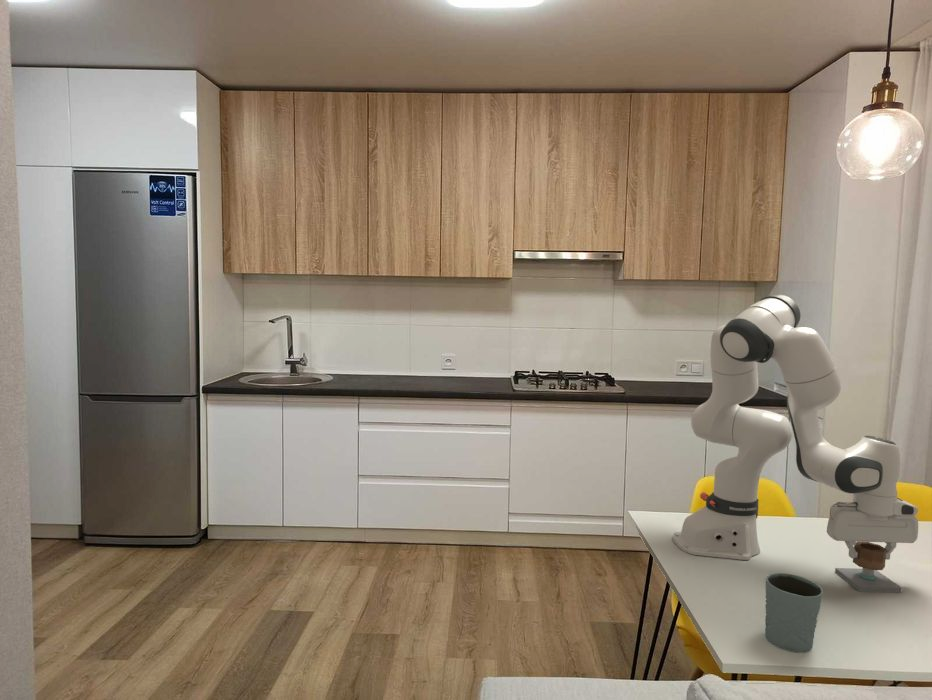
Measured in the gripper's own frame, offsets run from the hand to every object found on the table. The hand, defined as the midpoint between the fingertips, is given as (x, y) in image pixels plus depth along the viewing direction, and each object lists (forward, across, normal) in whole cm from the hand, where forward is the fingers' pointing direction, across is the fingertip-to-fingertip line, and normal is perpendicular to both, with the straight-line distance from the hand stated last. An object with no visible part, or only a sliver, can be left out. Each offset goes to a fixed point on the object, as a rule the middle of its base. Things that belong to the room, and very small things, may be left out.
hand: (869, 558), depth 155 cm
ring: (+2, 0, 0) cm, 2 cm away
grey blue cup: (+6, -33, -28) cm, 44 cm away
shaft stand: (+6, 0, 0) cm, 6 cm away
